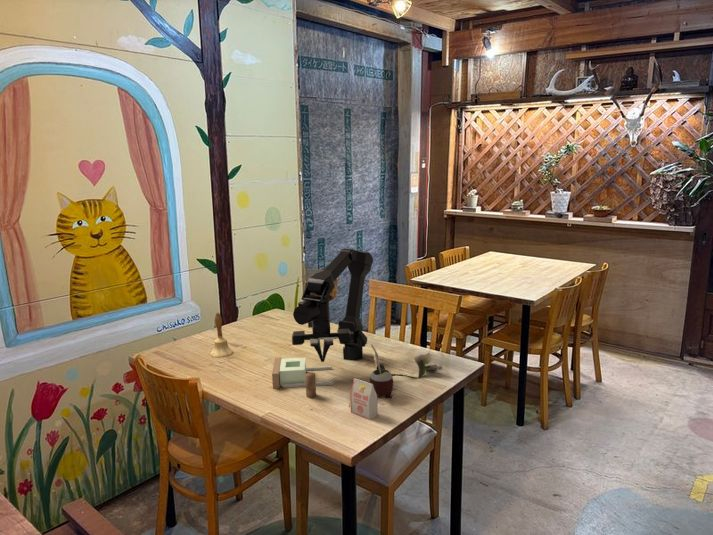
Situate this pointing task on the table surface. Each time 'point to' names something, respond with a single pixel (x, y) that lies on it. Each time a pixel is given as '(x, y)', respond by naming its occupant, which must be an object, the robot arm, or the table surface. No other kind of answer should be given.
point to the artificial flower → (420, 365)
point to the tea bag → (363, 399)
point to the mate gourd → (382, 380)
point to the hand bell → (220, 341)
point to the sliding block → (292, 371)
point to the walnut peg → (310, 385)
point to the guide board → (277, 383)
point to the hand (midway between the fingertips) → (322, 361)
